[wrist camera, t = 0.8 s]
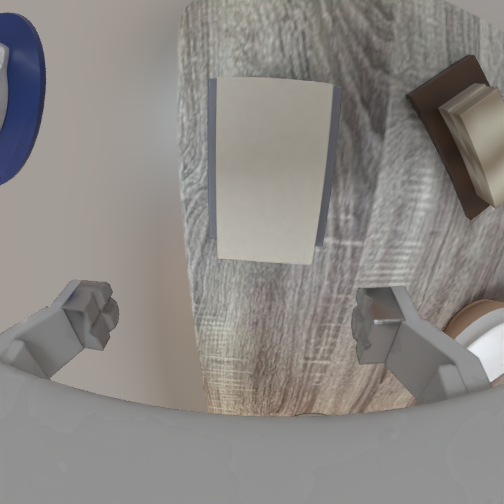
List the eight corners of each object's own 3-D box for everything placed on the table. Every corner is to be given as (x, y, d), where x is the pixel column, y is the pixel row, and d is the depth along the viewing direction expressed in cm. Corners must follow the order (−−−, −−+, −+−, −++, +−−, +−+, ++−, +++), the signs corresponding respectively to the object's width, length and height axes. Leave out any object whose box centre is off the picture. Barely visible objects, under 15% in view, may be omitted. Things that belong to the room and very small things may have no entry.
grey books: (231, 81, 24) (207, 78, 16) (319, 87, 24) (342, 86, 15) (229, 191, 30) (209, 239, 21) (309, 197, 30) (322, 247, 21)
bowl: (444, 370, 43) (457, 404, 36) (414, 330, 38) (431, 371, 31) (512, 320, 37) (532, 351, 30) (498, 265, 31) (527, 300, 25)
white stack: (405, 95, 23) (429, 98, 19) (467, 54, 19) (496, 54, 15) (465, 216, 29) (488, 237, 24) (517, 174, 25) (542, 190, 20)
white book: (224, 78, 16) (216, 76, 14) (326, 84, 15) (333, 84, 13) (223, 240, 21) (217, 259, 19) (308, 246, 21) (311, 265, 19)
